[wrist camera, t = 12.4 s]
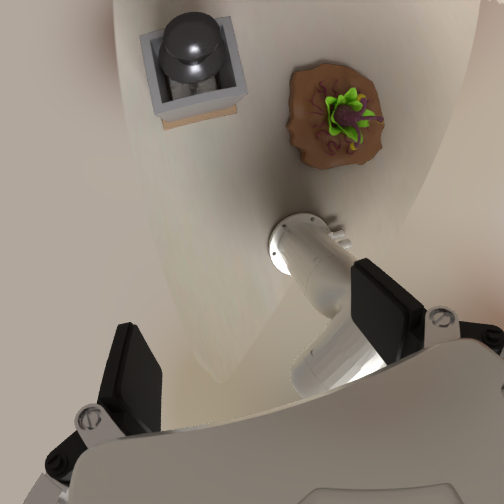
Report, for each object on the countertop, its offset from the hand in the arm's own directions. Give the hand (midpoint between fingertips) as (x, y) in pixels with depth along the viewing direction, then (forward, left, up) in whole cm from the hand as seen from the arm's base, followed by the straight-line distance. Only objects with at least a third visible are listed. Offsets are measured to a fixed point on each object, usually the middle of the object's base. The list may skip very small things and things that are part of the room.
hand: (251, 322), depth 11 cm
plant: (-25, -7, -39) cm, 47 cm away
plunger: (-1, -16, -37) cm, 40 cm away
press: (-1, -16, -38) cm, 42 cm away
